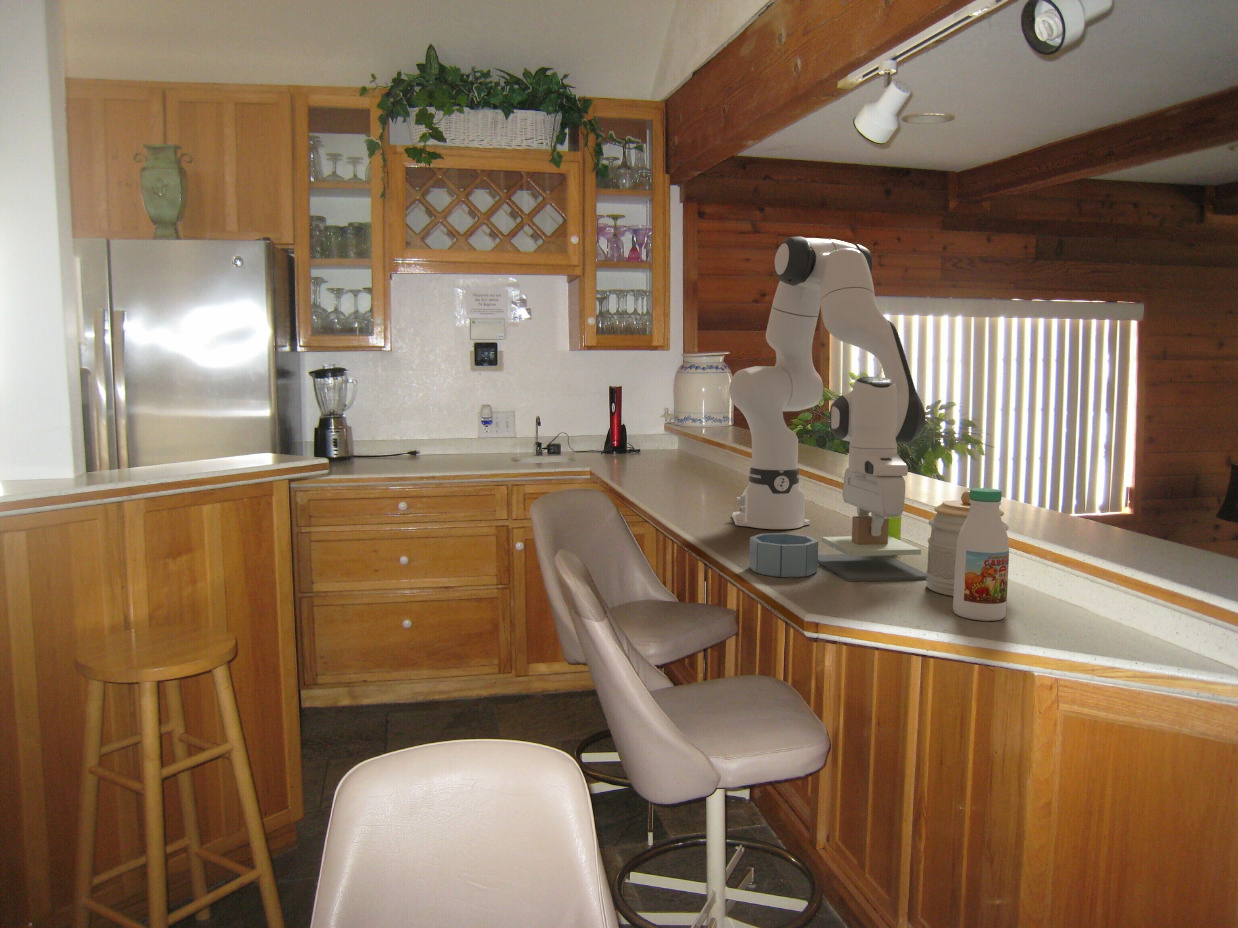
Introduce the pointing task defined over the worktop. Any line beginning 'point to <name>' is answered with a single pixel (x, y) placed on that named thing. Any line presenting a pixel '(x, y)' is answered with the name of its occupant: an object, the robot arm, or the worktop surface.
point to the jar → (946, 543)
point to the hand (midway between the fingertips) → (869, 533)
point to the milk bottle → (982, 560)
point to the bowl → (783, 555)
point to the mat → (869, 568)
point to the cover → (869, 541)
